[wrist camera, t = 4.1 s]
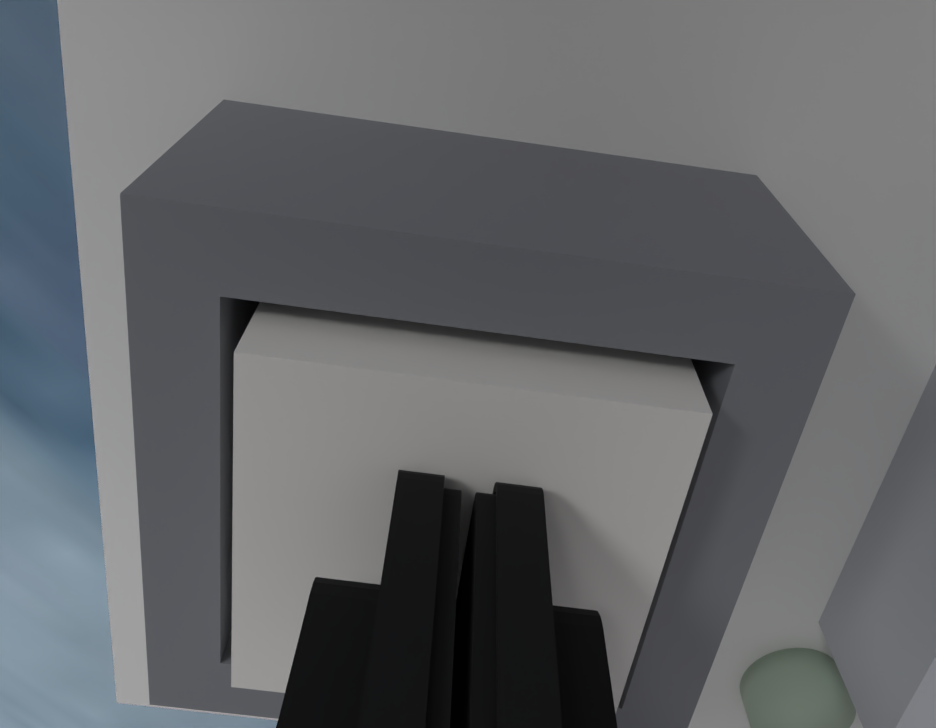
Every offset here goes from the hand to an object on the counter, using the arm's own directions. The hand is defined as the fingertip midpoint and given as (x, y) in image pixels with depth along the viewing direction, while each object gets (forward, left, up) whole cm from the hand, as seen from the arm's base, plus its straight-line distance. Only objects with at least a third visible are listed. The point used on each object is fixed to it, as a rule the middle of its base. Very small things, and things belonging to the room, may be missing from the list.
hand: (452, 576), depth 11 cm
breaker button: (0, 0, -4) cm, 4 cm away
